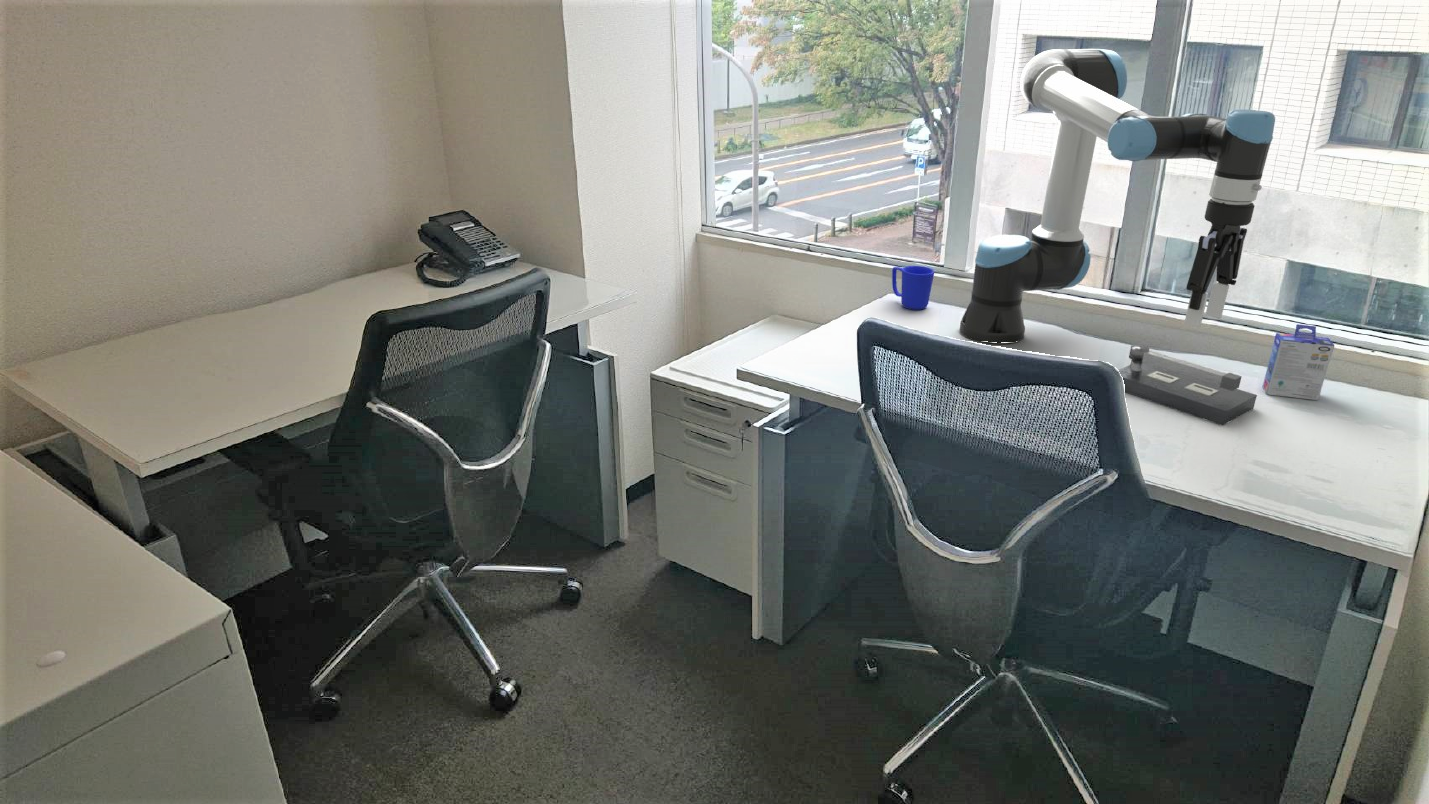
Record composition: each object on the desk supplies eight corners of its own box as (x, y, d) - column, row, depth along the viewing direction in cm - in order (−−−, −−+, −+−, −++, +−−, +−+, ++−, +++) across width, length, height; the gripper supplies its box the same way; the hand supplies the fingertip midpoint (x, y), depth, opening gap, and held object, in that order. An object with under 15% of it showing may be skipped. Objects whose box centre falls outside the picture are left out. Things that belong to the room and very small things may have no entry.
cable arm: (1125, 358, 195) (1127, 346, 194) (1134, 354, 197) (1136, 343, 196) (1231, 391, 179) (1234, 379, 178) (1239, 387, 181) (1243, 374, 180)
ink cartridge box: (1312, 391, 194) (1332, 326, 188) (1319, 401, 189) (1340, 335, 183) (1260, 385, 196) (1278, 320, 190) (1265, 395, 192) (1284, 329, 186)
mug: (900, 296, 250) (904, 260, 246) (936, 307, 242) (940, 270, 238) (880, 302, 245) (883, 266, 241) (916, 313, 237) (920, 276, 233)
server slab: (1107, 386, 195) (1112, 364, 193) (1139, 372, 202) (1144, 351, 200) (1222, 425, 178) (1229, 401, 175) (1253, 408, 185) (1259, 385, 183)
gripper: (1226, 211, 157) (1196, 337, 167) (1278, 197, 169) (1247, 315, 178) (1183, 203, 163) (1156, 326, 172) (1236, 190, 174) (1208, 305, 184)
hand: (1202, 320), depth 175 cm, fingers open, 8 cm apart
